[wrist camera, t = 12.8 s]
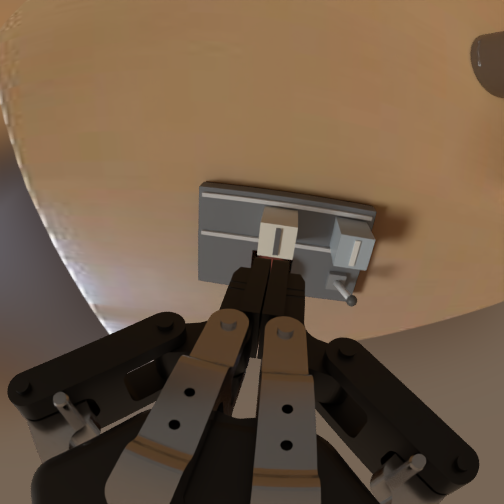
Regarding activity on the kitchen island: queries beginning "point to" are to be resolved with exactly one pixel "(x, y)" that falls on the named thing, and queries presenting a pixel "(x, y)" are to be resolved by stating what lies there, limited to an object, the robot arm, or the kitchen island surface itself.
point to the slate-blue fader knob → (351, 243)
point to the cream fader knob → (278, 233)
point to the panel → (248, 227)
